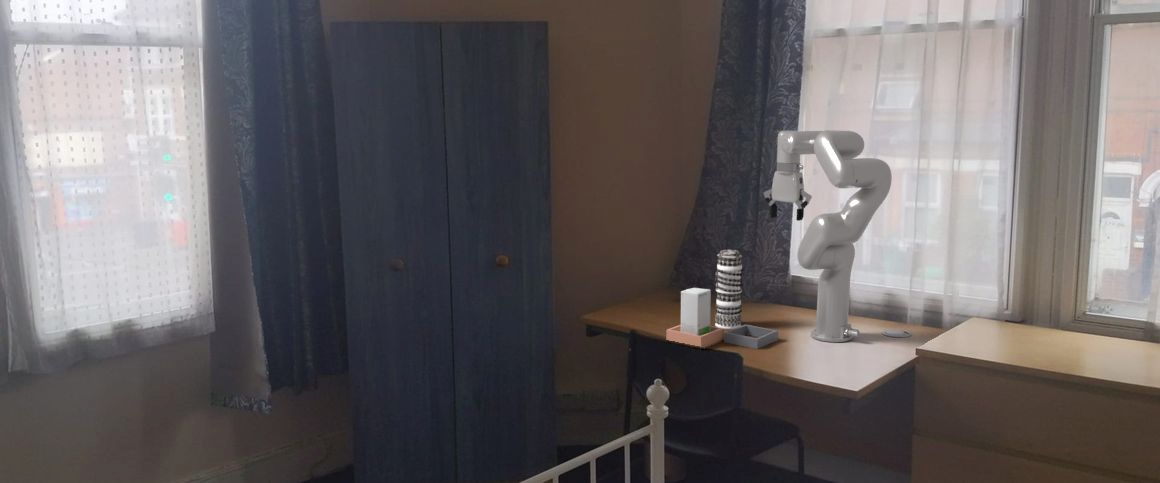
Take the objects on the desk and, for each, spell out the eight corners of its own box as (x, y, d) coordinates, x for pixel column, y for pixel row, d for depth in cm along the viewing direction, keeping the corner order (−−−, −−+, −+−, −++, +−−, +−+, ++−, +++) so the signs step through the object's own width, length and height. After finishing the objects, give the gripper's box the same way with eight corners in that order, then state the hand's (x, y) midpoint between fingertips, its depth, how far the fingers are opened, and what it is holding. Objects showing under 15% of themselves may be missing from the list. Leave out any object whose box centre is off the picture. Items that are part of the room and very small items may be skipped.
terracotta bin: (723, 340, 285) (723, 328, 284) (700, 349, 276) (701, 336, 275) (689, 333, 293) (689, 321, 293) (666, 342, 284) (666, 329, 283)
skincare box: (697, 344, 279) (698, 294, 277) (678, 340, 283) (679, 291, 281) (711, 338, 286) (712, 289, 283) (692, 334, 290) (693, 286, 287)
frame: (777, 340, 286) (778, 330, 285) (757, 349, 276) (757, 339, 276) (745, 333, 293) (745, 324, 293) (723, 342, 284) (724, 332, 283)
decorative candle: (741, 330, 297) (743, 253, 293) (712, 328, 299) (714, 252, 295) (743, 322, 306) (745, 248, 302) (715, 321, 308) (716, 247, 304)
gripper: (817, 168, 304) (815, 219, 307) (770, 165, 315) (769, 215, 318) (806, 170, 299) (804, 222, 302) (759, 167, 310) (758, 217, 313)
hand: (786, 218), depth 310 cm, fingers open, 9 cm apart
